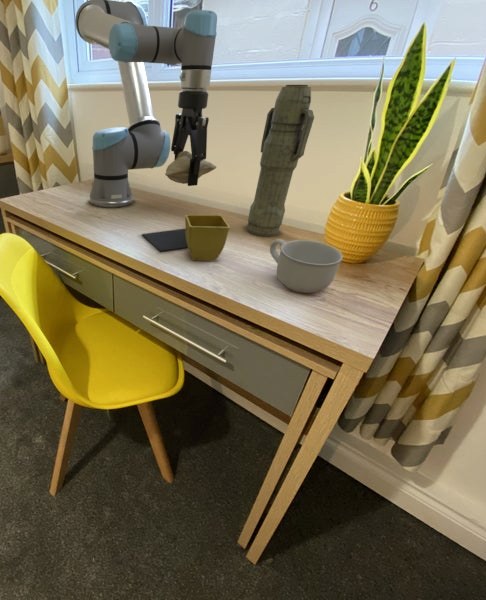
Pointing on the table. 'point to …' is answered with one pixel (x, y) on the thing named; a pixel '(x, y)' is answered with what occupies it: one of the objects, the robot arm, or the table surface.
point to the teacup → (306, 264)
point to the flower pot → (205, 236)
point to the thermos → (280, 157)
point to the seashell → (186, 168)
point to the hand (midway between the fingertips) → (184, 181)
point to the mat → (167, 240)
